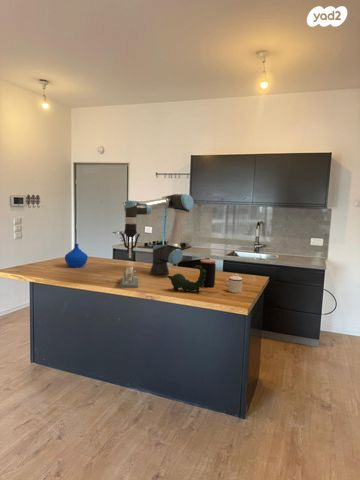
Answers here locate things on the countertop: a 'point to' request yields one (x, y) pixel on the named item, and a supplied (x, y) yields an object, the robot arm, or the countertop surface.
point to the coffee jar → (209, 272)
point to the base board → (129, 285)
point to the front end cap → (128, 283)
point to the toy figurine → (185, 284)
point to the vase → (76, 257)
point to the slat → (129, 274)
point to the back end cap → (132, 276)
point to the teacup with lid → (234, 284)
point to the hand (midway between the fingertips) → (130, 257)
